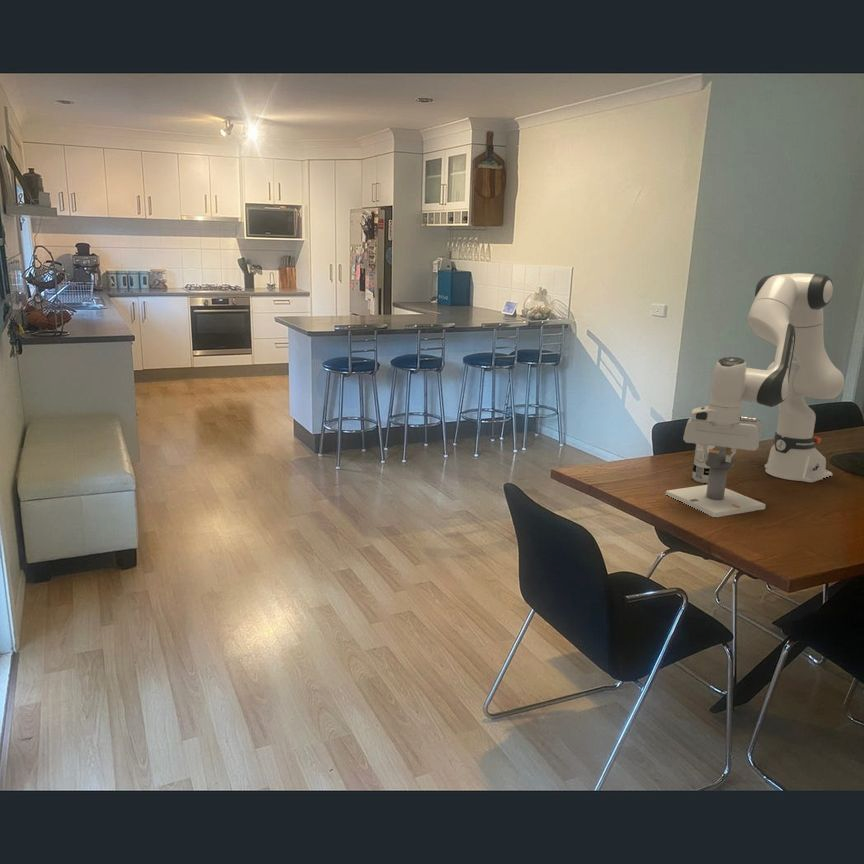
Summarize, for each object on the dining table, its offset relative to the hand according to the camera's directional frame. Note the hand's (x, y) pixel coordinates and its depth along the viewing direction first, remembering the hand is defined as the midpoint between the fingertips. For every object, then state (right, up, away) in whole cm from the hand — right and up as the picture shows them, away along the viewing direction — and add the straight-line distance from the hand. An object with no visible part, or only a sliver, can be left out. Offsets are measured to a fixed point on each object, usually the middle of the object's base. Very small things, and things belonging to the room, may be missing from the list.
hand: (717, 460), depth 204 cm
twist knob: (+1, -2, +4) cm, 5 cm away
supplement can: (+8, -8, +30) cm, 32 cm away
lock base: (+3, -13, +9) cm, 16 cm away
